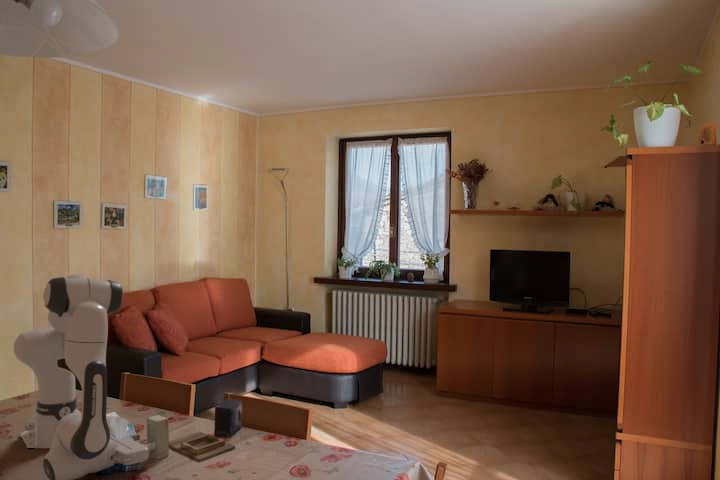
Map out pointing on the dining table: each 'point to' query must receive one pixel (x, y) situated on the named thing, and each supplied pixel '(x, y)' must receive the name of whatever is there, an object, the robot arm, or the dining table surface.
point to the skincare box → (158, 436)
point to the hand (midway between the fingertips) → (146, 440)
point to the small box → (228, 417)
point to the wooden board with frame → (200, 445)
